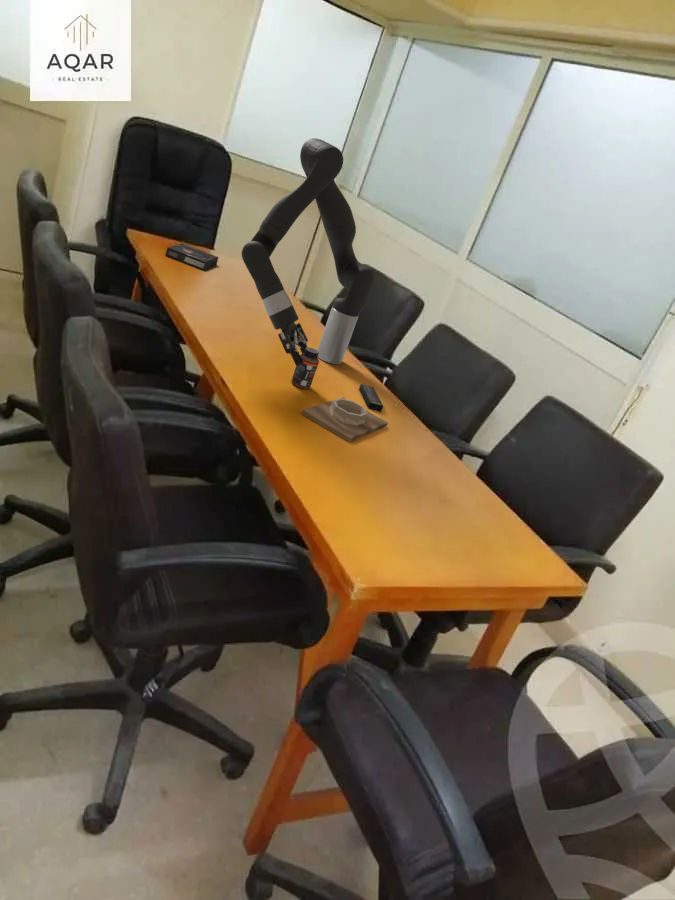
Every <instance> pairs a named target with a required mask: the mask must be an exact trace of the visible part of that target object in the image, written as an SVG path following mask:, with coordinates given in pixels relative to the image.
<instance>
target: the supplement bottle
mask: <svg viewBox="0 0 675 900" xmlns="http://www.w3.org/2000/svg"><path fill="white" fill-rule="evenodd" d="M318 354H319V352H318V351H317V349H316V348H313V347H308V346H307V348H306V349H305V353H303V354H302V353H301V354H300V356H301V358H302V361H303V364H301V365H299V366H296V365H295V369H294V370H293V374H292V377H291V383H292V384H293V385H294V386H296V387H297V388H300V389H303V390H308V389H310V388H311V386H312V383H313V381H314V378H315V376H316V372H317V369H318V366H319V364H320V360H319V358H318Z"/></svg>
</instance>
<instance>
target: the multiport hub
mask: <svg viewBox="0 0 675 900" xmlns="http://www.w3.org/2000/svg"><path fill="white" fill-rule="evenodd" d="M359 385H360V386H359V388H358V390H359V392H360V395H361V397H362V399H363V401H364V402H365V405H366V408H367V409H368V410H372V411H376V412H379V413H382V411H383V408H384V404H383V402H382V401H381V399H380V397H379V395H378V393H377V390H375V388H374V387H373V386H371V385H367V384H364V383H360V384H359Z"/></svg>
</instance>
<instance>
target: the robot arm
mask: <svg viewBox="0 0 675 900" xmlns="http://www.w3.org/2000/svg"><path fill="white" fill-rule="evenodd" d="M299 159H300V164H301V168H302V170H303V171H304V174H305V177H306V178H305V179H304V181H303V182H302V183H301V184H300V185H299V186H298V187H296V188H295V189H294V190H293V191H291V192H290V193H288V194H287V195H285V196H284V197H282V198H281V199H279V200H278V201H277V202H276V203H275V204H274V205H273V207H272V208H270V209H271V210H269V212H268V213H267V214H266V217H264V219H263V220H262V222H261V224H260V226H259V229H258V230H257V232H256V233H255V234H254V236H253V237H252V239H251V240H250V241H248V242H247V243H246V244H244V245H243V247H242V249H241V258H242V261H243V263H244V265H245V267H246V269H247V271H248V272H249V274H250V276H251V278H252V279H253V282H254V285H255V287H256V290H257V292H258V294H259V296H260V298H261V300H262V304H263V306H264V309H265V311H266V313H267V316H268V318H269V319H270V322H271V324H272V326H273V329H275V330H276V331H277V330H281V332H280V333H278V334H277V335H278V338H279V340H280V343H281V344H282V347H283V349H284V352H285V353H286V354H289V355H290V356H291V358H292V360H293V362H294V364H295V367H296V366H299V365H301V364H303V361H302V358H301V356H300V355H301V354H303V353H305V349H306V348H307V347H308V341H309V340H308V337H307V335H306V334H305V331H304V329H303V326H302V325H301V323H300V322H298V323H295V322H297V321H298V320H299V316H298V314H297V311H296V309H295V307H294V305H293V303H292V301H291V298H290V296H289V295H288V293H287V291H286V290H285V287H284V286H283V282H282V281H281V279H280V277H279V275H278V274H277V272H276V271H275V268H274V266H273V263H272V260H271V259H270V258H271V256H272V254H273V253H274V251H275V249H276V248H277V246H278V244H279V243H280V242H281V241H282V240H283V239H284V237H285V235H286V234H287V233H288V232H289V230H290V229H291V227H292V226H293V225H294V223H295V221H296V220H297V219H298V218H299V217H300V216H301V214H303V212H304V211H305V209H307V208H308V207H309V205H311V204H312V203H313V201H315V203H316V205H317V208H318V211H319V215H320V218H321V222H322V225H323V228H324V231H325V234H326V237H327V240H328V243H329V247H330V250H331V253H332V255H333V261H334V265H335V270H336V276H337V279H338V282H339V283H340V285H341V286H342V287H343V288H344V289H346V290H348V293H347V295H346V296H345V297H344V298H343V297H336V298H335V299H334V300H333V303H332V307H331V309H330V312H329V315H328V318H327V321H326V323H325V326H324V330H323V332H322V335H321V338H320V341H319V344H318V347H317V349H316V350H317V351H318V352H319V354H318V357H317V358H318V359H320V360H322V361H324V362H326V363H329V364H332V365H341V364H342V363H343V361H342V360H344V357H345V355H346V352H347V350H348V346H349V345H350V341H351V339H352V335H353V333H354V329H355V327H356V323H357V321H358V319H359V315H360V314H361V312H362V310H364V308H365V305H366V303H367V301H368V299H369V297H370V294H371V292H372V289H373V288H374V284H375V280H376V276H375V272H374V270H373V269H372V268H370V267H368V266H367V265H365V264H363V263H361V262H360V261H359V260H357V257H356V254H355V251H354V249H353V248H354V247H353V242H354V240H355V238H356V233H357V232H356V231H357V228H356V227H357V226H356V222H355V218H354V215H353V211H352V209H351V206H350V204H349V203H348V201H347V199H346V198H345V196H344V194H343V193H342V191H341V190H340V188H339V186H338V185H337V183H336V181H335V179H336V178H337V177H338V175H339V174H340V173H341V170H342V169H343V166H344V156H343V152H342V151H341V150H340V149H339V148H338V147H337V146H335V145H333V144H331V143H329V142H326V141H325V140H324V139H323V140H322V139H319V138H309V139H307V140H305V142H303V144H302V146H301V149H300V154H299ZM298 348H299V349H298ZM298 350H300V352H301V354H300V352H299V351H298Z"/></svg>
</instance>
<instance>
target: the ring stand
mask: <svg viewBox="0 0 675 900" xmlns="http://www.w3.org/2000/svg"><path fill="white" fill-rule="evenodd" d="M301 413H302V414H303V416H304V415H305V416H304V417H306V416H307V417H306V418H307V419H309V418H310V420H311V419H312V420H311V421H313V422H314V421H315V422H314V423H316V424H318V425H319V426H322V427H323V428H324V429H327V430H329V431H330V432H331V433H333V434H335V435H336V436H338V437H340V438H341V439H343V440H345V441H346V442H349V443H351V442H354V441H355V440H358V439H361V438H363V437H365V436H367V435H369V434H372V433H374V432H377V431H378V430H381V429H384V428H386V427H387V426H388V424H389V422H387V421H386V420H384V419H383V418H381V417H379V416H378V415H376V414H374V413H372V412H370V411H368V410H367V409H366V408H365V406H363V405H361V404H360V403H358V402H355V401H354V400H351V399H347V398H345V397H343V396H342V397H338V398H335V399H332V400H329V401H326V402H323V403H320V404H317V405H314V406H311V407H307V408H304V409H302V410H301ZM302 414H301V415H302Z"/></svg>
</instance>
